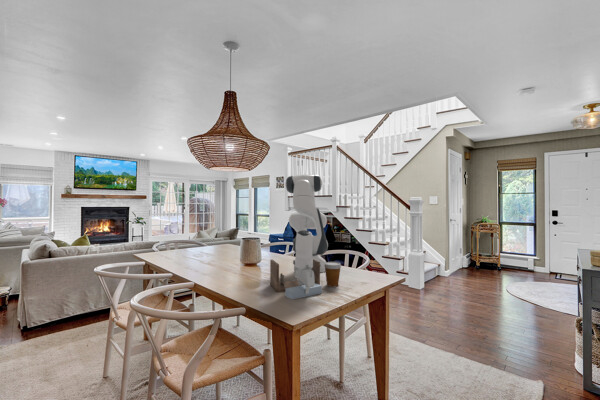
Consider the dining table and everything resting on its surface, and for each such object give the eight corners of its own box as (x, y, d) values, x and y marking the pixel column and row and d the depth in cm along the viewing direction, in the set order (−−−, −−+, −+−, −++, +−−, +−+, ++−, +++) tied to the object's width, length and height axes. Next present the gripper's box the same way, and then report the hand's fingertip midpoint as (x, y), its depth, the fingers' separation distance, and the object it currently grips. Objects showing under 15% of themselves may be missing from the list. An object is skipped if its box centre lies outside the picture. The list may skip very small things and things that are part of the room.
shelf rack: (310, 281, 172) (310, 257, 172) (319, 287, 159) (319, 261, 159) (270, 284, 164) (270, 259, 164) (276, 292, 151) (276, 264, 151)
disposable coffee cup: (331, 288, 158) (331, 266, 158) (320, 284, 166) (320, 262, 166) (344, 285, 163) (344, 264, 163) (333, 281, 171) (333, 261, 171)
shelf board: (314, 290, 155) (314, 283, 155) (321, 293, 150) (321, 285, 150) (285, 296, 145) (285, 288, 145) (291, 300, 140) (291, 291, 140)
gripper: (318, 267, 139) (317, 297, 139) (303, 259, 158) (303, 285, 158) (305, 268, 137) (305, 298, 136) (292, 260, 156) (291, 286, 156)
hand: (303, 291), depth 147 cm, fingers open, 7 cm apart
